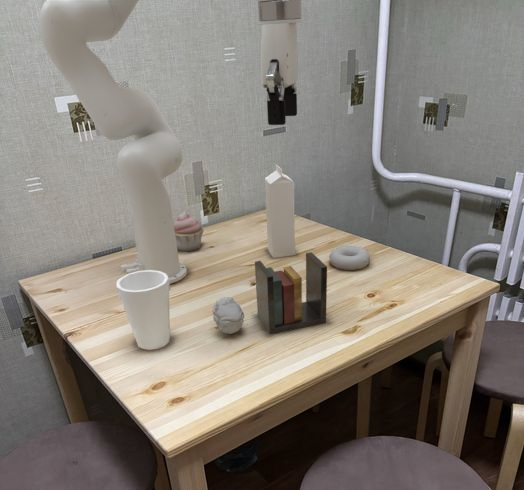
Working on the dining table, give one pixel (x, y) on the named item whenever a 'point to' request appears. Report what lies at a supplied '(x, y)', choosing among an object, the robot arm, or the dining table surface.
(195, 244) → the cupcake
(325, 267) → the book rack
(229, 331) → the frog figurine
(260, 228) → the dining table surface
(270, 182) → the milk
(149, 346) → the foam cup
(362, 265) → the donut
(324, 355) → the dining table surface
